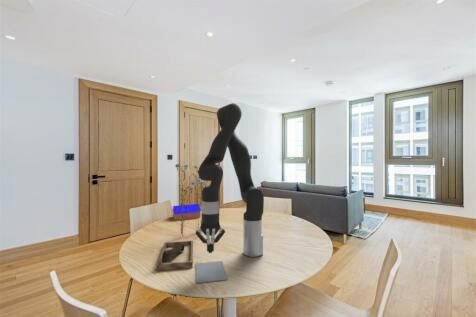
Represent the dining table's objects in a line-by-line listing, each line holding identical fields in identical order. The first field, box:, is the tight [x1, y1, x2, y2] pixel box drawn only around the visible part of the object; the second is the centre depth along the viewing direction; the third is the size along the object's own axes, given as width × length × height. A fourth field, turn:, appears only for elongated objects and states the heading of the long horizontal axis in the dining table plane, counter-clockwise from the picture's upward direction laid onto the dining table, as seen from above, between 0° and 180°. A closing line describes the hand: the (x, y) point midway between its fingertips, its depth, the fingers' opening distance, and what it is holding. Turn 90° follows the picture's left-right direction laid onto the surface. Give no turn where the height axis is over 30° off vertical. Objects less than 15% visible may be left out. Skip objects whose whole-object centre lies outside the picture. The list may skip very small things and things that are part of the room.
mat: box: [195, 260, 228, 284], centre depth 95 cm, size 12×16×1 cm
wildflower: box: [174, 163, 209, 237], centre depth 139 cm, size 22×23×45 cm
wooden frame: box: [156, 240, 194, 272], centre depth 110 cm, size 15×26×2 cm, turn 11°
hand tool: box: [162, 243, 185, 263], centre depth 106 cm, size 19×4×5 cm, turn 167°
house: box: [172, 203, 202, 221], centre depth 176 cm, size 12×20×12 cm, turn 114°
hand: (210, 252), depth 95 cm, fingers closed
